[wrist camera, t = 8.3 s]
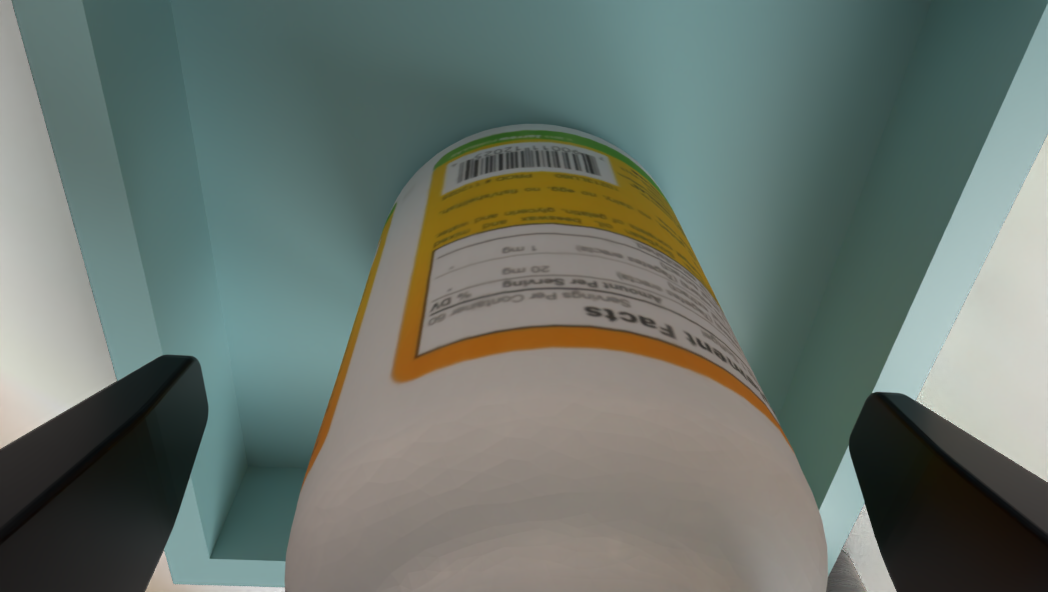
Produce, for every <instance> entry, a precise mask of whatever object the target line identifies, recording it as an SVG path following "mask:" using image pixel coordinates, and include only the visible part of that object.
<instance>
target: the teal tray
mask: <svg viewBox="0 0 1048 592" xmlns="http://www.w3.org/2000/svg"><path fill="white" fill-rule="evenodd" d="M12 4H13V8H14V11H15V15H16V18H17V22H18V26H19V29H20V33H21V36H22V40H23V44H24V47H25V51H26V54H27V58H28V62H29V65H30V69H31V72H32V76H33V80H34V83H35V87H36V90H37V94H38V98H39V101H40V105H41V108H42V112H43V116H44V119H45V123H46V126H47V130H48V134H49V137H50V141H51V144H52V148H53V152H54V155H55V159H56V162H57V166H58V170H59V173H60V177H61V180H62V184H63V188H64V191H65V195H66V198H67V202H68V206H69V209H70V213H71V216H72V220H73V224H74V227H75V231H76V234H77V238H78V242H79V245H80V249H81V252H82V256H83V260H84V263H85V267H86V270H87V274H88V278H89V281H90V285H91V288H92V292H93V296H94V299H95V303H96V306H97V310H98V314H99V317H100V321H101V324H102V328H103V332H104V335H105V339H106V342H107V346H108V350H109V353H110V357H111V360H112V364H113V368H114V371H115V375H116V378H117V381H118V380H120V379H121V378H123V377H125V376H127V375H128V374H130V373H132V372H133V371H135V370H137V369H139V368H140V367H142V366H144V365H145V364H147V363H149V362H151V361H152V360H154V359H156V358H158V357H160V356H162V355H167V354H170V355H189V356H194V357H195V358H197V359H198V360H199V362H200V365H201V369H202V374H203V379H204V384H205V389H206V395H207V400H208V406H209V413H208V420H207V424H206V428H205V431H204V434H203V437H202V440H201V443H200V447H199V450H198V453H197V456H196V459H195V462H194V466H193V469H192V472H191V475H190V478H189V481H188V485H187V488H186V491H185V494H184V497H183V500H182V504H181V507H180V510H179V513H178V516H177V519H176V522H175V524H174V527H173V530H172V532H171V534H170V537H169V539H168V542H167V544H166V546H165V548H164V551H165V555H166V558H167V562H168V565H169V569H170V573H171V576H172V580H173V583H174V584H190V585H225V586H259V587H285V581H284V579H285V562H286V552H287V547H288V542H289V537H290V532H291V527H292V523H293V520H294V516H295V512H296V507H297V503H298V499H299V495H300V491H301V488H302V484H303V481H304V477H305V474H306V471H307V468H308V465H309V461H310V458H311V455H312V452H313V449H314V446H315V443H316V439H317V436H318V433H319V430H320V427H321V424H322V421H323V418H324V415H325V412H326V409H327V406H328V403H329V400H330V397H331V394H332V391H333V388H334V385H335V382H336V379H337V376H338V372H339V369H340V366H341V363H342V360H343V356H344V353H345V350H346V347H347V344H348V340H349V337H350V334H351V331H352V327H353V324H354V321H355V318H356V315H357V312H358V308H359V305H360V302H361V299H362V296H363V293H364V290H365V286H366V283H367V280H368V276H369V273H370V270H371V266H372V263H373V260H374V257H375V254H376V250H377V246H378V243H379V240H380V237H381V234H382V231H383V228H384V225H385V223H386V220H387V218H388V215H389V213H390V211H391V209H392V207H393V205H394V203H395V201H396V199H397V197H398V196H399V194H400V192H401V191H402V189H403V188H404V186H405V185H406V184H407V183H408V181H409V180H410V179H411V178H412V177H413V175H414V174H415V173H416V172H417V171H418V170H419V169H420V168H421V167H422V166H423V165H425V164H426V163H427V162H428V161H429V160H430V159H432V158H433V157H434V156H435V155H436V154H438V153H439V152H441V151H442V150H444V149H445V148H447V147H449V146H450V145H452V144H454V143H456V142H458V141H460V140H462V139H464V138H466V137H468V136H471V135H474V134H476V133H479V132H482V131H485V130H489V129H493V128H498V127H503V126H509V125H517V124H548V125H556V126H562V127H567V128H571V129H575V130H579V131H582V132H585V133H588V134H591V135H594V136H596V137H599V138H601V139H603V140H605V141H607V142H609V143H611V144H613V145H615V146H616V147H618V148H620V149H621V150H623V151H624V152H626V153H627V154H628V155H630V156H631V157H632V158H633V159H635V160H636V161H637V162H638V163H639V164H640V165H641V166H642V167H643V168H644V169H645V170H646V171H647V172H648V173H649V174H650V175H651V177H652V178H653V179H654V181H655V182H656V183H657V185H658V186H659V187H660V189H661V191H662V192H663V194H664V196H665V197H666V199H667V201H668V202H669V204H670V206H671V207H672V209H673V211H674V213H675V215H676V217H677V219H678V221H679V223H680V225H681V227H682V229H683V231H684V233H685V235H686V237H687V239H688V241H689V243H690V245H691V247H692V249H693V251H694V253H695V255H696V257H697V259H698V262H699V264H700V266H701V268H702V270H703V272H704V274H705V276H706V278H707V280H708V282H709V284H710V286H711V288H712V290H713V292H714V294H715V296H716V298H717V300H718V302H719V305H720V307H721V309H722V311H723V313H724V315H725V317H726V319H727V320H728V322H729V324H730V326H731V329H732V331H733V333H734V335H735V337H736V339H737V341H738V343H739V345H740V347H741V349H742V351H743V353H744V355H745V357H746V359H747V361H748V363H749V365H750V367H751V369H752V371H753V373H754V375H755V377H756V379H757V381H758V383H759V385H760V387H761V389H762V391H763V393H764V395H765V397H766V399H767V401H768V403H769V405H770V407H771V408H772V409H773V411H774V412H775V415H776V417H777V420H778V422H779V424H780V426H781V428H782V430H783V432H784V434H785V436H786V438H787V439H788V441H789V443H790V445H791V447H792V449H793V451H794V453H795V455H796V458H797V460H798V462H799V465H800V467H801V470H802V472H803V474H804V476H805V478H806V480H807V482H808V484H809V486H810V489H811V491H812V493H813V496H814V498H815V501H816V504H817V507H818V510H819V513H820V515H821V518H822V523H823V528H824V533H825V538H826V543H827V554H828V576H829V574H830V572H831V570H832V568H833V566H834V564H835V562H836V560H837V558H838V556H839V554H840V552H841V550H842V548H843V546H844V544H845V542H846V540H847V538H848V536H849V534H850V532H851V530H852V528H853V526H854V524H855V522H856V520H857V518H858V516H859V514H860V512H861V510H862V508H863V505H864V503H865V502H864V499H863V495H862V492H861V489H860V486H859V482H858V479H857V476H856V473H855V469H854V466H853V463H852V459H851V456H850V452H849V438H850V434H851V432H852V429H853V427H854V425H855V423H856V421H857V418H858V416H859V414H860V412H861V409H862V407H863V405H864V403H865V400H866V399H867V397H868V396H869V395H870V394H872V393H874V392H892V393H902V394H905V395H907V396H908V397H910V398H912V399H913V400H915V401H916V399H917V397H918V395H919V393H920V391H921V389H922V387H923V385H924V383H925V381H926V379H927V377H928V375H929V372H930V370H931V368H932V366H933V364H934V362H935V360H936V358H937V356H938V354H939V352H940V350H941V348H942V346H943V344H944V342H945V340H946V338H947V336H948V334H949V332H950V330H951V328H952V326H953V324H954V322H955V320H956V318H957V316H958V314H959V312H960V310H961V308H962V306H963V304H964V302H965V300H966V298H967V296H968V294H969V292H970V290H971V288H972V286H973V284H974V282H975V280H976V278H977V276H978V274H979V272H980V270H981V268H982V266H983V264H984V262H985V260H986V258H987V256H988V254H989V252H990V250H991V248H992V246H993V244H994V242H995V240H996V237H997V235H998V233H999V231H1000V229H1001V227H1002V225H1003V223H1004V221H1005V219H1006V217H1007V215H1008V213H1009V211H1010V209H1011V207H1012V205H1013V203H1014V201H1015V199H1016V197H1017V195H1018V193H1019V191H1020V189H1021V187H1022V185H1023V183H1024V181H1025V179H1026V177H1027V175H1028V173H1029V171H1030V169H1031V167H1032V165H1033V163H1034V161H1035V159H1036V157H1037V155H1038V153H1039V151H1040V149H1041V147H1042V145H1043V143H1044V141H1045V139H1046V137H1047V135H1048V0H12Z"/></svg>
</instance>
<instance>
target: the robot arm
mask: <svg viewBox="0 0 1048 592" xmlns="http://www.w3.org/2000/svg"><path fill="white" fill-rule="evenodd" d="M208 413H209V406H208V400H207V395H206V389H205V384H204V379H203V374H202V369H201V365H200V362H199V360H198V359H197V358H195V357H194V356H189V355H170V354H167V355H162V356H160V357H158V358H156V359H154V360H152V361H151V362H149V363H147V364H145V365H144V366H142V367H140V368H139V369H137V370H135V371H133V372H132V373H130V374H128V375H127V376H125V377H123V378H121V379H120V380H118V381H116V382H115V383H113V384H111V385H109V386H108V387H106V388H104V389H103V390H101V391H99V392H97V393H96V394H94V395H92V396H91V397H89V398H87V399H85V400H84V401H82V402H80V403H79V404H77V405H75V406H73V407H72V408H70V409H68V410H66V411H65V412H63V413H61V414H60V415H58V416H56V417H54V418H53V419H51V420H49V421H48V422H46V423H44V424H42V425H41V426H39V427H37V428H36V429H34V430H32V431H30V432H29V433H27V434H25V435H24V436H22V437H20V438H18V439H17V440H15V441H13V442H12V443H10V444H8V445H6V446H5V447H3V448H1V449H0V592H145V591H146V588H147V586H148V584H149V582H150V579H151V577H152V575H153V573H154V571H155V568H156V566H157V564H158V562H159V559H160V557H161V555H162V553H163V551H164V548H165V546H166V544H167V542H168V539H169V537H170V534H171V532H172V530H173V527H174V524H175V522H176V519H177V516H178V513H179V510H180V507H181V504H182V500H183V497H184V494H185V491H186V488H187V485H188V481H189V478H190V475H191V472H192V469H193V466H194V462H195V459H196V456H197V453H198V450H199V447H200V443H201V440H202V437H203V434H204V431H205V428H206V424H207V420H208ZM849 452H850V456H851V459H852V463H853V466H854V469H855V473H856V476H857V479H858V482H859V486H860V489H861V492H862V495H863V499H864V502H865V505H866V508H867V512H868V515H869V518H870V522H871V525H872V528H873V531H874V535H875V538H876V541H877V544H878V546H879V549H880V552H881V555H882V557H883V560H884V562H885V565H886V567H887V570H888V572H889V575H890V577H891V579H892V582H893V584H894V586H895V589H896V591H897V592H1048V483H1047V482H1046V481H1044V480H1043V479H1041V478H1039V477H1038V476H1036V475H1035V474H1033V473H1031V472H1030V471H1028V470H1026V469H1025V468H1023V467H1022V466H1020V465H1018V464H1017V463H1015V462H1014V461H1012V460H1010V459H1009V458H1007V457H1005V456H1004V455H1002V454H1001V453H999V452H997V451H996V450H994V449H993V448H991V447H989V446H988V445H986V444H984V443H983V442H981V441H980V440H978V439H976V438H975V437H973V436H971V435H970V434H968V433H967V432H965V431H963V430H962V429H960V428H959V427H957V426H955V425H954V424H952V423H950V422H949V421H947V420H946V419H944V418H942V417H941V416H939V415H938V414H936V413H934V412H933V411H931V410H929V409H928V408H926V407H925V406H923V405H921V404H920V403H918V402H917V401H915V400H913V399H912V398H910V397H908V396H907V395H905V394H902V393H892V392H874V393H872V394H870V395H869V396H868V397H867V399H866V400H865V403H864V405H863V407H862V409H861V412H860V414H859V416H858V418H857V421H856V423H855V425H854V427H853V429H852V432H851V434H850V438H849Z"/></svg>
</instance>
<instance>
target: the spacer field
mask: <svg viewBox="0 0 1048 592" xmlns="http://www.w3.org/2000/svg"><path fill="white" fill-rule="evenodd" d="M826 592H867V591H866V589H865V587H864V585H863V583H862V581H861V579H860V577H859V575H858V573H857V571H856V569H855V567H854V565H853V563H852V561H851V559H850V557H849V556H848V555H847V554H846V553H845V552H843V551H841V552H840V554H839V556H838V558H837V560H836V562H835V564H834V566H833V568H832V570H831V572H830V574H829V576H828V579H827V588H826Z"/></svg>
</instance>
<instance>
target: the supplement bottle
mask: <svg viewBox="0 0 1048 592" xmlns="http://www.w3.org/2000/svg"><path fill="white" fill-rule="evenodd" d="M827 579H828V554H827V543H826V538H825V533H824V528H823V523H822V518H821V515H820V513H819V510H818V507H817V504H816V501H815V498H814V496H813V493H812V491H811V489H810V486H809V484H808V482H807V480H806V478H805V476H804V474H803V472H802V470H801V467H800V465H799V462H798V460H797V458H796V455H795V453H794V451H793V449H792V447H791V445H790V443H789V441H788V439H787V438H786V436H785V434H784V432H783V430H782V428H781V426H780V424H779V422H778V420H777V417H776V415H775V412H774V411H773V409H772V408H771V407H770V405H769V403H768V401H767V399H766V397H765V395H764V393H763V391H762V389H761V387H760V385H759V383H758V381H757V379H756V377H755V375H754V373H753V371H752V369H751V367H750V365H749V363H748V361H747V359H746V357H745V355H744V353H743V351H742V349H741V347H740V345H739V343H738V341H737V339H736V337H735V335H734V333H733V331H732V329H731V326H730V324H729V322H728V320H727V319H726V317H725V315H724V313H723V311H722V309H721V307H720V305H719V302H718V300H717V298H716V296H715V294H714V292H713V290H712V288H711V286H710V284H709V282H708V280H707V278H706V276H705V274H704V272H703V270H702V268H701V266H700V264H699V262H698V259H697V257H696V255H695V253H694V251H693V249H692V247H691V245H690V243H689V241H688V239H687V237H686V235H685V233H684V231H683V229H682V227H681V225H680V223H679V221H678V219H677V217H676V215H675V213H674V211H673V209H672V207H671V206H670V204H669V202H668V201H667V199H666V197H665V196H664V194H663V192H662V191H661V189H660V187H659V186H658V185H657V183H656V182H655V181H654V179H653V178H652V177H651V175H650V174H649V173H648V172H647V171H646V170H645V169H644V168H643V167H642V166H641V165H640V164H639V163H638V162H637V161H636V160H635V159H633V158H632V157H631V156H630V155H628V154H627V153H626V152H624V151H623V150H621V149H620V148H618V147H616V146H615V145H613V144H611V143H609V142H607V141H605V140H603V139H601V138H599V137H596V136H594V135H591V134H588V133H585V132H582V131H579V130H575V129H571V128H567V127H562V126H556V125H548V124H517V125H509V126H503V127H498V128H493V129H489V130H485V131H482V132H479V133H476V134H474V135H471V136H468V137H466V138H464V139H462V140H460V141H458V142H456V143H454V144H452V145H450V146H449V147H447V148H445V149H444V150H442V151H441V152H439V153H438V154H436V155H435V156H434V157H433V158H432V159H430V160H429V161H428V162H427V163H426V164H425V165H423V166H422V167H421V168H420V169H419V170H418V171H417V172H416V173H415V174H414V175H413V177H412V178H411V179H410V180H409V181H408V183H407V184H406V185H405V186H404V188H403V189H402V191H401V192H400V194H399V196H398V197H397V199H396V201H395V203H394V205H393V207H392V209H391V211H390V213H389V215H388V218H387V220H386V223H385V225H384V228H383V231H382V234H381V237H380V240H379V243H378V246H377V250H376V254H375V257H374V260H373V263H372V266H371V270H370V273H369V276H368V280H367V283H366V286H365V290H364V293H363V296H362V299H361V302H360V305H359V308H358V312H357V315H356V318H355V321H354V324H353V327H352V331H351V334H350V337H349V340H348V344H347V347H346V350H345V353H344V356H343V360H342V363H341V366H340V369H339V372H338V376H337V379H336V382H335V385H334V388H333V391H332V394H331V397H330V400H329V403H328V406H327V409H326V412H325V415H324V418H323V421H322V424H321V427H320V430H319V433H318V436H317V439H316V443H315V446H314V449H313V452H312V455H311V458H310V461H309V465H308V468H307V471H306V474H305V477H304V481H303V484H302V488H301V491H300V495H299V499H298V503H297V507H296V512H295V516H294V520H293V523H292V527H291V532H290V537H289V542H288V547H287V552H286V562H285V579H284V581H285V592H826V588H827Z"/></svg>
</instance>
